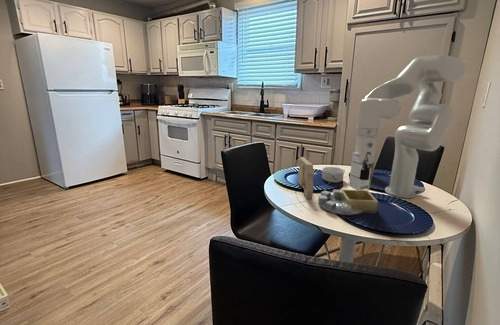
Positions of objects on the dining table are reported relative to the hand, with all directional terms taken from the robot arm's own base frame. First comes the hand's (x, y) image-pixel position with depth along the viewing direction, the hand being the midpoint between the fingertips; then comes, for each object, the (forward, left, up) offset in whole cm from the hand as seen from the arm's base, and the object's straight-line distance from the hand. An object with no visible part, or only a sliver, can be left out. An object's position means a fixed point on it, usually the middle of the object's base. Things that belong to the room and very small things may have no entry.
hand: (360, 176), depth 106 cm
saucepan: (+3, -28, -14) cm, 32 cm away
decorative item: (-17, -40, -14) cm, 46 cm away
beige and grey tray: (+5, 0, -13) cm, 14 cm away
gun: (+19, -17, -14) cm, 29 cm away
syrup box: (0, 0, -5) cm, 5 cm away
